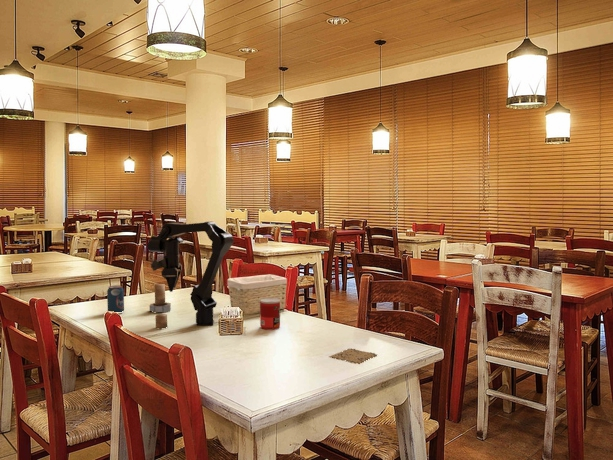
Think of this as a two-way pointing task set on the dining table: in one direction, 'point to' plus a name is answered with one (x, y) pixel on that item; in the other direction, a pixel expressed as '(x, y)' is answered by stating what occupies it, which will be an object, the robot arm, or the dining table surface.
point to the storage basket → (256, 291)
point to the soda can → (115, 298)
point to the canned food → (270, 313)
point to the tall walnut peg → (159, 294)
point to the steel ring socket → (160, 307)
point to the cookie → (354, 355)
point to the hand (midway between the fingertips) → (172, 289)
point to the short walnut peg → (161, 320)
